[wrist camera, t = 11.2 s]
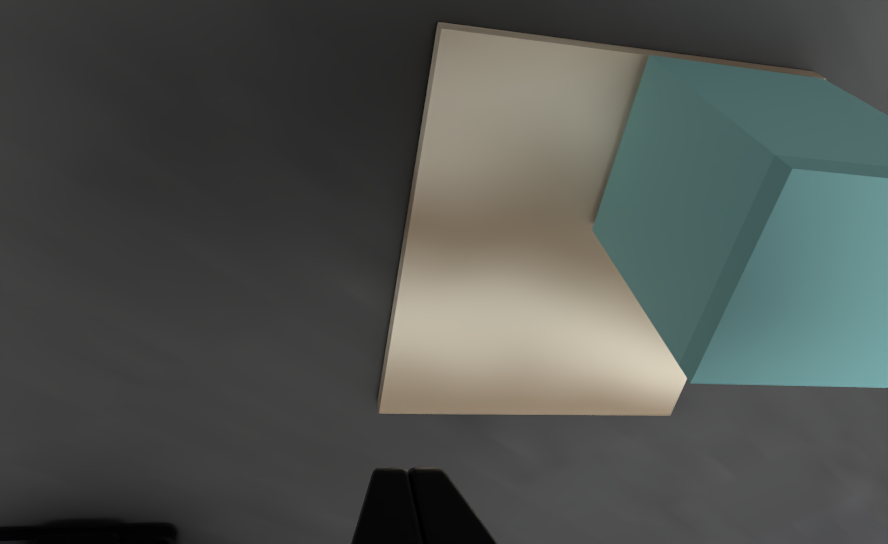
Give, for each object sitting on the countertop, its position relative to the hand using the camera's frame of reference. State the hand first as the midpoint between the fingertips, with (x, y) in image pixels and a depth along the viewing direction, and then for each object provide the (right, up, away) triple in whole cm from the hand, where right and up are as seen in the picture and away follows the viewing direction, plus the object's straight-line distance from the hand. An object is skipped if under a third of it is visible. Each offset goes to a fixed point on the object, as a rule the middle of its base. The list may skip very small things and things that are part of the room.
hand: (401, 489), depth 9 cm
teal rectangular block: (+8, +6, +12) cm, 15 cm away
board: (+5, +3, +14) cm, 15 cm away
